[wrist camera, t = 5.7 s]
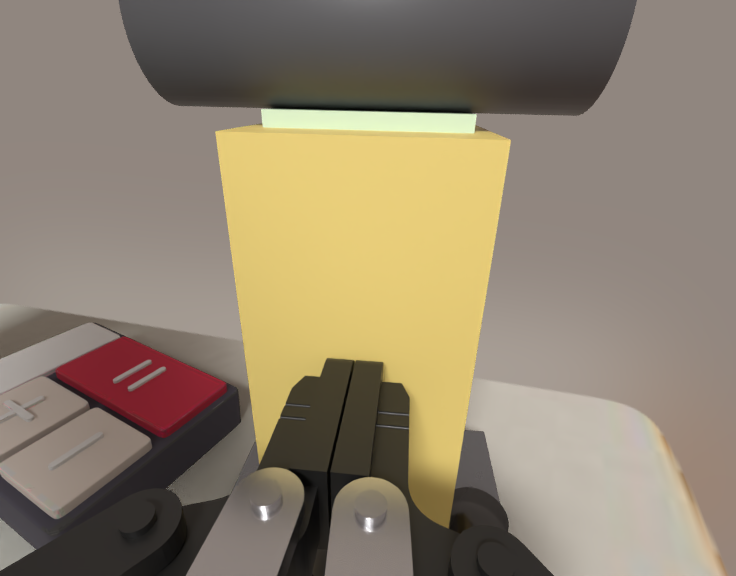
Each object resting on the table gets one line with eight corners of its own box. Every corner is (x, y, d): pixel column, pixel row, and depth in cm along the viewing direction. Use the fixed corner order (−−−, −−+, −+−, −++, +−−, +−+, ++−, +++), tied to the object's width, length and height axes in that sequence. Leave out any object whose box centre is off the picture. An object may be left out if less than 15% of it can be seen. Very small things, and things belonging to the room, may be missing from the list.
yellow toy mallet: (216, 546, 15) (68, -125, 7) (262, 440, 19) (203, -37, 11) (501, 578, 14) (692, -139, 6) (478, 460, 18) (572, -38, 11)
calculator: (45, 525, 16) (-114, 393, 22) (72, 587, 18) (-81, 450, 24) (240, 378, 25) (91, 311, 31) (244, 430, 27) (103, 358, 33)
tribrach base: (158, 737, 13) (130, 669, 12) (272, 452, 24) (266, 396, 22) (534, 794, 12) (565, 730, 11) (476, 471, 23) (487, 414, 22)
